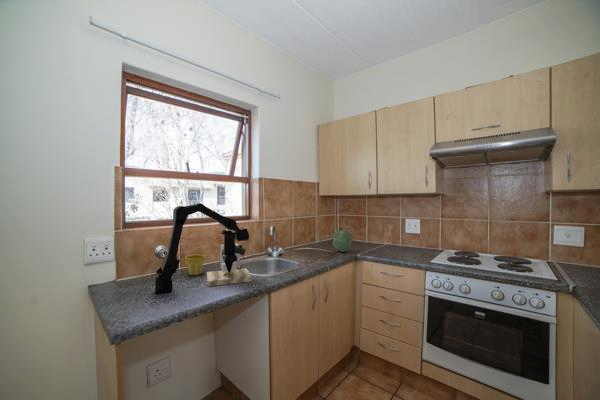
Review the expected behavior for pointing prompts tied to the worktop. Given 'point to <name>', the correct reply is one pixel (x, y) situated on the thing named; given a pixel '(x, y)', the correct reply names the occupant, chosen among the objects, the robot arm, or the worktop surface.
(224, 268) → the plug
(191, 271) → the plant pot
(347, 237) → the cabbage
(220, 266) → the supplement box
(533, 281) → the worktop surface
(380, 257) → the worktop surface
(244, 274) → the socket board
